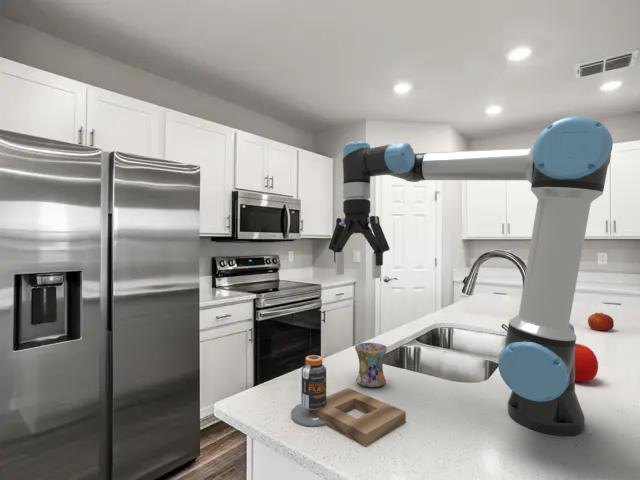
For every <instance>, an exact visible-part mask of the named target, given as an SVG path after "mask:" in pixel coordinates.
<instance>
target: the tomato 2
mask: <svg viewBox="0 0 640 480" xmlns="http://www.w3.org/2000/svg"><path fill="white" fill-rule="evenodd" d="M587 324H588V326H589V328H591V329H593V330H595V331H603V332H604V331H605V332H606V331H607V332H608V331H611V330H613V328H614V326H615V325H614V324H615V323H614V319H613V317H612V316H611V315H609V314H607V313H606V314H605V313H604V312H595V313H593V314H591V315H590V316H588V319H587Z"/></svg>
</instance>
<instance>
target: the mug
mask: <svg viewBox="0 0 640 480" xmlns="http://www.w3.org/2000/svg"><path fill="white" fill-rule="evenodd" d="M354 349H355V352H356V355H357V359H358V363H359V366H358V367H359V370H358V374H357V377H356V382H357V384H359V385H360V386H363V387H366V388H379V387H382V386H384V385H385V384H386V382H387V380H386V378H385V377H386V376H385V375H384V371H383V369H384V367H383V366H384V364H383V363H384V358H385V354H386V353H387V350H388V347H387V346H386V345H384V344H382V343H379V342H360V343H358V344H355V346H354Z"/></svg>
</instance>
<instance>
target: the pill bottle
mask: <svg viewBox="0 0 640 480" xmlns="http://www.w3.org/2000/svg"><path fill="white" fill-rule="evenodd" d="M326 397H327V367H326V366H325V365H323V357H322V356H321V355H316V354H311V355H308V356H305V362H304V365H303V366H302V367H301V400H300V401H301V404H302V406H303V407H305V408H307V409H320V408H323V407H324V406H325V405H326Z"/></svg>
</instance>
